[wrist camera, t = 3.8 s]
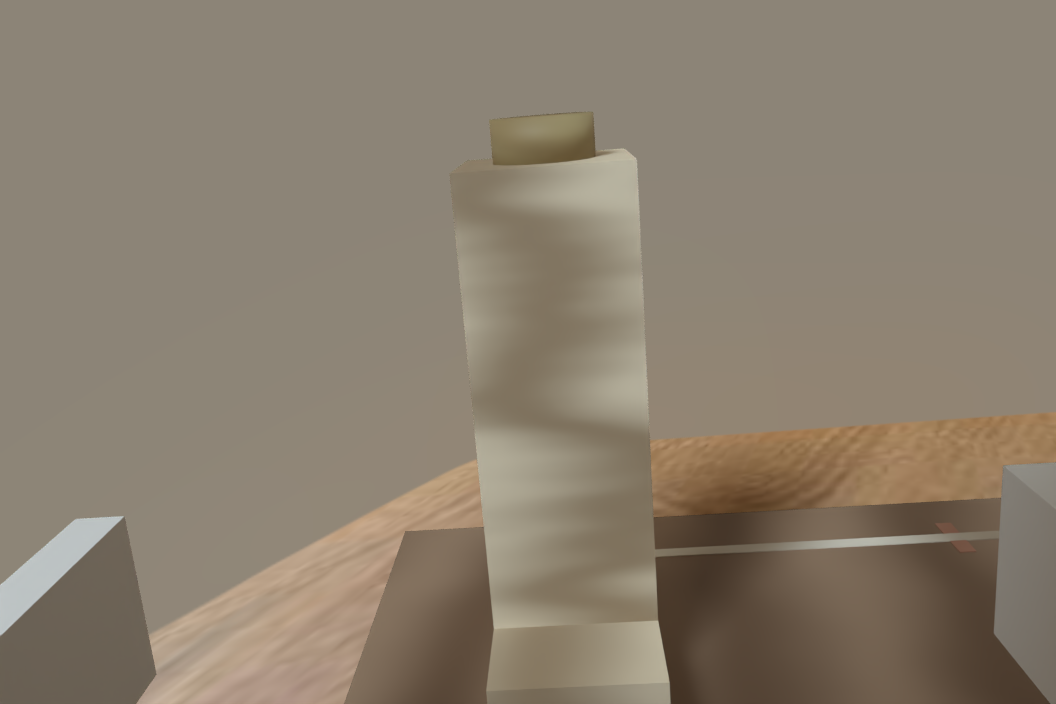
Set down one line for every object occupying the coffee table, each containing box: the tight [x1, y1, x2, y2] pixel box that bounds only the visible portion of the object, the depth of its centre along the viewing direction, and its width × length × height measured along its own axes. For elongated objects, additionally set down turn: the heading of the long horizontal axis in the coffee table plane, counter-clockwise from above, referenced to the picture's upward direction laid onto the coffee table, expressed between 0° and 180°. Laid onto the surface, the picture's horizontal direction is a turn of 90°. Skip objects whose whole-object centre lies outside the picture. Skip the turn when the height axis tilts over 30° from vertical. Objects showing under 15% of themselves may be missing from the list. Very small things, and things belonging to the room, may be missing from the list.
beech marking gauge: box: [450, 112, 671, 704], centre depth 24 cm, size 4×9×14 cm, turn 178°
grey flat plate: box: [344, 498, 1050, 704], centre depth 26 cm, size 22×14×2 cm, turn 88°
